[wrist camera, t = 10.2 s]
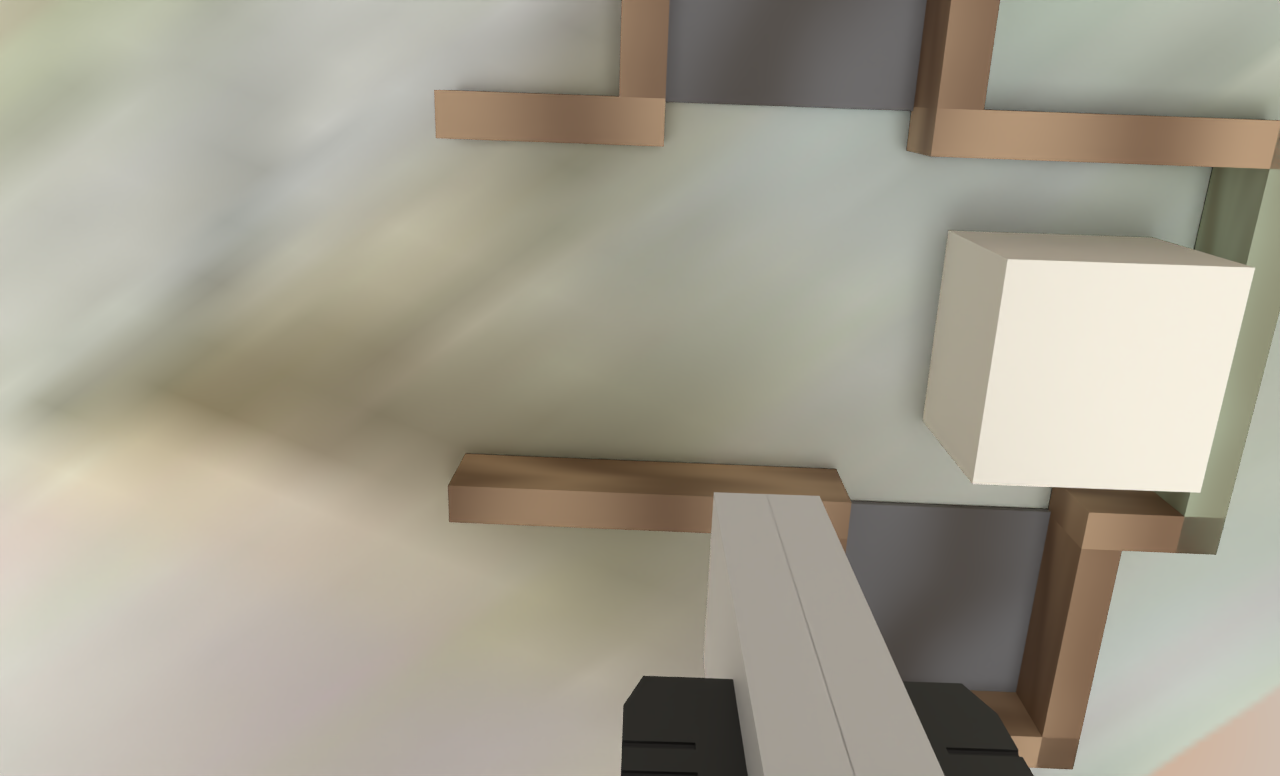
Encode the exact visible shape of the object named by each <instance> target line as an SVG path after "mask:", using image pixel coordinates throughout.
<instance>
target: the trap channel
mask: <svg viewBox="0 0 1280 776" xmlns="http://www.w3.org/2000/svg"><path fill="white" fill-rule="evenodd" d="M999 4H1000V0H622V7H621V45H620V84H619V96H597V95H570V94H542V93H515V92H487V91H460V90H434V95H435V124H436V138H448V139H475V140H502V141H529V142H556V143H583V144H610V145H637V146H664V123H665V102H686V103H714V104H741V105H769V106H796V107H824V108H851V109H879V110H906V111H911V118H910V126H909V134H908V142H907V150H906V151H910V152H915V153H919V154H923V155H927V156H934V157H961V158H988V159H1015V160H1042V161H1069V162H1096V163H1123V164H1150V165H1177V166H1204V167H1213V170H1212V174H1211V178H1210V183H1209V187H1208V192H1207V196H1206V201H1205V205H1204V209H1203V214H1202V218H1201V223H1200V227H1199V232H1198V236H1197V240H1196V245H1195V249H1194V250H1197V251H1200V252H1204V253H1207V254H1211V255H1214V256H1217V257H1221V258H1224V259H1228V260H1231V261H1234V262H1238V263H1241V264H1244V265H1248V266H1251V267H1255V271H1254V275H1253V279H1252V283H1251V287H1250V291H1249V295H1248V299H1247V303H1246V308H1245V312H1244V316H1243V320H1242V324H1241V328H1240V332H1239V336H1238V340H1237V344H1236V349H1235V353H1234V357H1233V361H1232V365H1231V369H1230V373H1229V377H1228V381H1227V386H1226V390H1225V394H1224V398H1223V402H1222V406H1221V410H1220V414H1219V418H1218V422H1217V427H1216V431H1215V435H1214V439H1213V443H1212V447H1211V451H1210V455H1209V459H1208V463H1207V468H1206V472H1205V476H1204V480H1203V484H1202V488H1201V492H1200V493H1196V492H1170V491H1144V490H1117V489H1091V488H1065V487H1053V488H1052V493H1051V498H1050V503H1049V508H1048V509H1030V508H1006V507H982V506H958V505H934V504H910V503H887V502H863V501H851V500H850V498H849V496H848V494H847V492H846V489H845V487H844V485H843V483H842V481H841V478H840V476H839V474H838V472H837V470H836V469H820V468H796V467H772V466H748V465H723V464H699V463H675V462H651V461H627V460H603V459H579V458H555V457H531V456H506V455H482V454H465V456H464V457H463V459H462V461H461V463H460V465H459V466H458V468H457V470H456V472H455V474H454V476H453V477H452V479H451V481H450V483H449V485H448V500H449V522H460V523H483V524H507V525H530V526H554V527H578V528H601V529H625V530H648V531H672V532H695V533H711V529H712V513H713V498H714V492H720V493H749V494H779V495H808V496H820V498H821V500H822V503H823V505H824V507H825V509H826V512H827V514H828V516H829V518H830V521H831V523H832V525H833V527H834V530H835V532H836V534H837V536H838V538H839V541H840V543H841V545H842V547H843V550H844V552H845V554H846V556H847V559H848V561H849V563H850V565H851V568H852V570H853V572H854V574H855V577H856V579H857V581H858V583H859V585H860V588H861V590H862V592H863V594H864V597H865V599H866V601H867V603H868V606H869V608H870V610H871V612H872V615H873V617H874V619H875V621H876V623H877V626H878V628H879V630H880V632H881V635H882V637H883V639H884V641H885V644H886V646H887V648H888V650H889V653H890V655H891V657H892V659H893V662H894V664H895V666H896V668H897V670H898V673H899V675H900V677H901V679H902V681H906V682H937V683H962V684H963V685H964V686H965V687H967V688H968V689H969V690H970V691H971V692H972V693H974V694H975V695H976V696H977V697H978V698H979V699H981V700H982V701H983V702H984V703H985V704H987V705H988V706H989V707H990V708H991V709H992V710H994V711H995V712H996V713H997V714H998V715H999V717H1000V719H1001V720H1002V722H1003V724H1004V726H1005V727H1006V729H1007V731H1008V733H1009V734H1010V736H1011V738H1012V739H1013V741H1014V743H1015V745H1016V746H1017V748H1018V754H1019V757H1023V758H1024V760H1025V762H1026V764H1027V765H1028V767H1032V768H1054V769H1073V766H1074V762H1075V757H1076V753H1077V748H1078V744H1079V739H1080V735H1081V731H1082V726H1083V722H1084V717H1085V713H1086V708H1087V704H1088V699H1089V695H1090V690H1091V686H1092V681H1093V677H1094V673H1095V668H1096V664H1097V659H1098V655H1099V650H1100V646H1101V641H1102V637H1103V632H1104V628H1105V623H1106V619H1107V615H1108V610H1109V606H1110V601H1111V597H1112V592H1113V588H1114V583H1115V579H1116V574H1117V570H1118V566H1119V561H1120V557H1121V552H1122V551H1143V552H1167V553H1190V554H1214V555H1216V553H1217V549H1218V545H1219V541H1220V538H1221V534H1222V530H1223V526H1224V522H1225V518H1226V515H1227V511H1228V507H1229V503H1230V499H1231V496H1232V492H1233V488H1234V484H1235V480H1236V476H1237V473H1238V469H1239V465H1240V461H1241V457H1242V453H1243V450H1244V446H1245V442H1246V438H1247V434H1248V430H1249V427H1250V423H1251V419H1252V415H1253V411H1254V407H1255V404H1256V400H1257V396H1258V392H1259V388H1260V384H1261V381H1262V377H1263V373H1264V369H1265V365H1266V361H1267V358H1268V354H1269V350H1270V346H1271V342H1272V338H1273V335H1274V331H1275V327H1276V323H1277V319H1278V315H1279V312H1280V120H1257V119H1230V118H1202V117H1175V116H1147V115H1120V114H1092V113H1065V112H1037V111H1010V110H984V106H985V99H986V92H987V86H988V79H989V72H990V65H991V58H992V51H993V45H994V38H995V31H996V24H997V17H998V10H999Z"/></svg>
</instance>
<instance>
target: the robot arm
mask: <svg viewBox="0 0 1280 776" xmlns="http://www.w3.org/2000/svg"><path fill="white" fill-rule="evenodd" d="M703 662H704V672H705V678H688V677H658V676H643V677H642V679H641V680H640V682H639V683H638V685H637V686H636V688H635V689H634V691H633V692H632V693H631V695H630V696H629V698H628V699H627V701H626V702H625V704H624V708H623V736H622V763H621V776H1033V774H1032V772H1031V770H1030V769H1029V767H1028V765H1027V764H1026V762H1025V760H1024V758H1023V757H1019V754H1018V748H1017V746H1016V745H1015V743H1014V741H1013V739H1012V738H1011V736H1010V734H1009V733H1008V731H1007V729H1006V727H1005V726H1004V724H1003V722H1002V720H1001V719H1000V717H999V715H998V714H997V713H996V712H995V711H994V710H992V709H991V708H990V707H989V706H988V705H987V704H985V703H984V702H983V701H982V700H981V699H979V698H978V697H977V696H976V695H975V694H974V693H972V692H971V691H970V690H969V689H968V688H967V687H965V686H964V685H963V684H962V683H937V682H906V681H902V679H901V677H900V675H899V673H898V670H897V668H896V666H895V664H894V662H893V659H892V657H891V655H890V653H889V650H888V648H887V646H886V644H885V641H884V639H883V637H882V635H881V632H880V630H879V628H878V626H877V623H876V621H875V619H874V617H873V615H872V612H871V610H870V608H869V606H868V603H867V601H866V599H865V597H864V594H863V592H862V590H861V588H860V585H859V583H858V581H857V579H856V577H855V574H854V572H853V570H852V568H851V565H850V563H849V561H848V559H847V556H846V554H845V552H844V550H843V547H842V545H841V543H840V541H839V538H838V536H837V534H836V532H835V530H834V527H833V525H832V523H831V521H830V518H829V516H828V514H827V512H826V509H825V507H824V505H823V503H822V500H821V498H820V496H808V495H779V494H749V493H720V492H714V498H713V513H712V529H711V544H710V560H709V576H708V591H707V607H706V622H705V638H704V654H703Z"/></svg>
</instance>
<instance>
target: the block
mask: <svg viewBox="0 0 1280 776" xmlns="http://www.w3.org/2000/svg"><path fill="white" fill-rule="evenodd" d="M1254 271H1255V267H1251V266H1248V265H1244V264H1241V263H1238V262H1234V261H1231V260H1228V259H1224V258H1221V257H1217V256H1214V255H1211V254H1207V253H1204V252H1200V251H1197V250H1194V249H1190V248H1187V247H1183V246H1180V245H1177V244H1173V243H1170V242H1167V241H1163V240H1160V239H1156V238H1153V237H1127V236H1098V235H1068V234H1039V233H1009V232H979V231H950V230H948V237H947V244H946V251H945V259H944V266H943V274H942V281H941V288H940V296H939V303H938V310H937V318H936V325H935V332H934V340H933V347H932V355H931V362H930V369H929V377H928V384H927V391H926V399H925V406H924V413H923V422H924V423H925V424H926V426H927V427H928V428H929V430H930V431H931V432H932V433H933V435H934V436H935V437H936V438H937V440H938V441H939V442H940V444H941V445H942V446H943V447H944V449H945V450H946V451H947V452H948V454H949V455H950V456H951V457H952V459H953V460H954V461H955V463H956V464H957V465H958V466H959V468H960V469H961V470H962V471H963V473H964V474H965V475H966V476H967V478H968V479H969V480H970V482H971V483H972V484H986V485H1012V486H1039V487H1065V488H1091V489H1117V490H1144V491H1170V492H1196V493H1200V492H1201V488H1202V484H1203V480H1204V476H1205V472H1206V468H1207V463H1208V459H1209V455H1210V451H1211V447H1212V443H1213V439H1214V435H1215V431H1216V427H1217V422H1218V418H1219V414H1220V410H1221V406H1222V402H1223V398H1224V394H1225V390H1226V386H1227V381H1228V377H1229V373H1230V369H1231V365H1232V361H1233V357H1234V353H1235V349H1236V344H1237V340H1238V336H1239V332H1240V328H1241V324H1242V320H1243V316H1244V312H1245V308H1246V303H1247V299H1248V295H1249V291H1250V287H1251V283H1252V279H1253V275H1254Z"/></svg>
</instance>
